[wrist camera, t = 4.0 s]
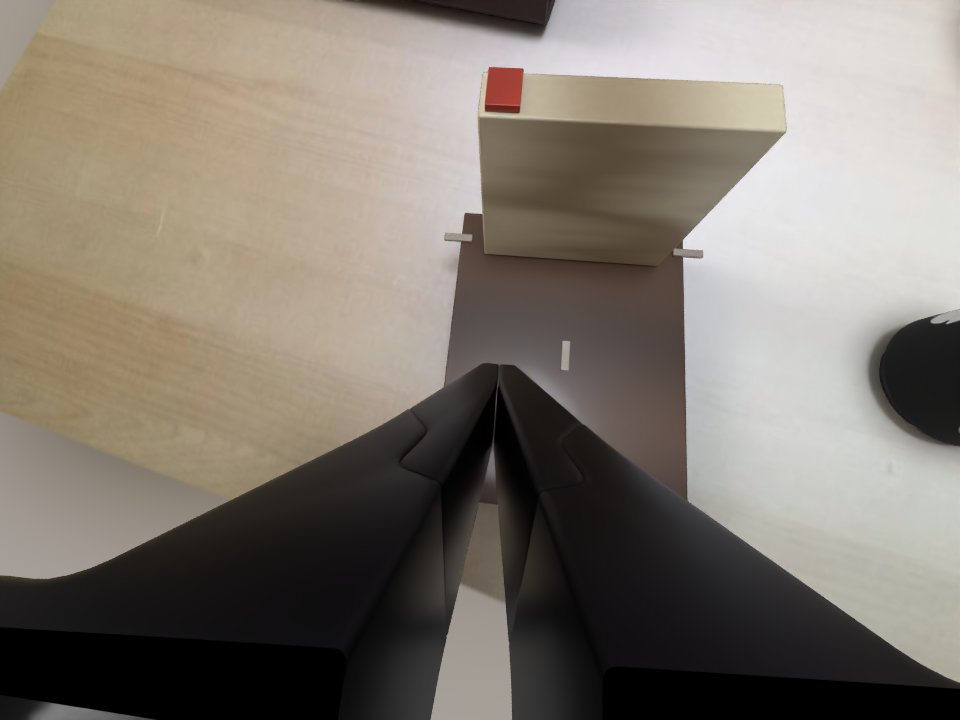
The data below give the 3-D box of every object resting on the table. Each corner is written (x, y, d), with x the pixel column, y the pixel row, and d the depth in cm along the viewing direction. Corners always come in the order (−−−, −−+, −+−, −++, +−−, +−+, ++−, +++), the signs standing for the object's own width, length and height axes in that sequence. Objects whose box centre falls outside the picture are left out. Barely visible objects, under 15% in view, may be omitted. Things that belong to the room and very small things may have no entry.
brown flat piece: (674, 513, 18) (711, 529, 15) (424, 486, 19) (410, 495, 16) (670, 183, 22) (699, 142, 19) (463, 171, 23) (458, 129, 20)
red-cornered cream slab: (657, 237, 18) (790, 74, 10) (658, 266, 18) (795, 123, 10) (487, 225, 18) (482, 61, 10) (484, 254, 18) (476, 108, 10)
